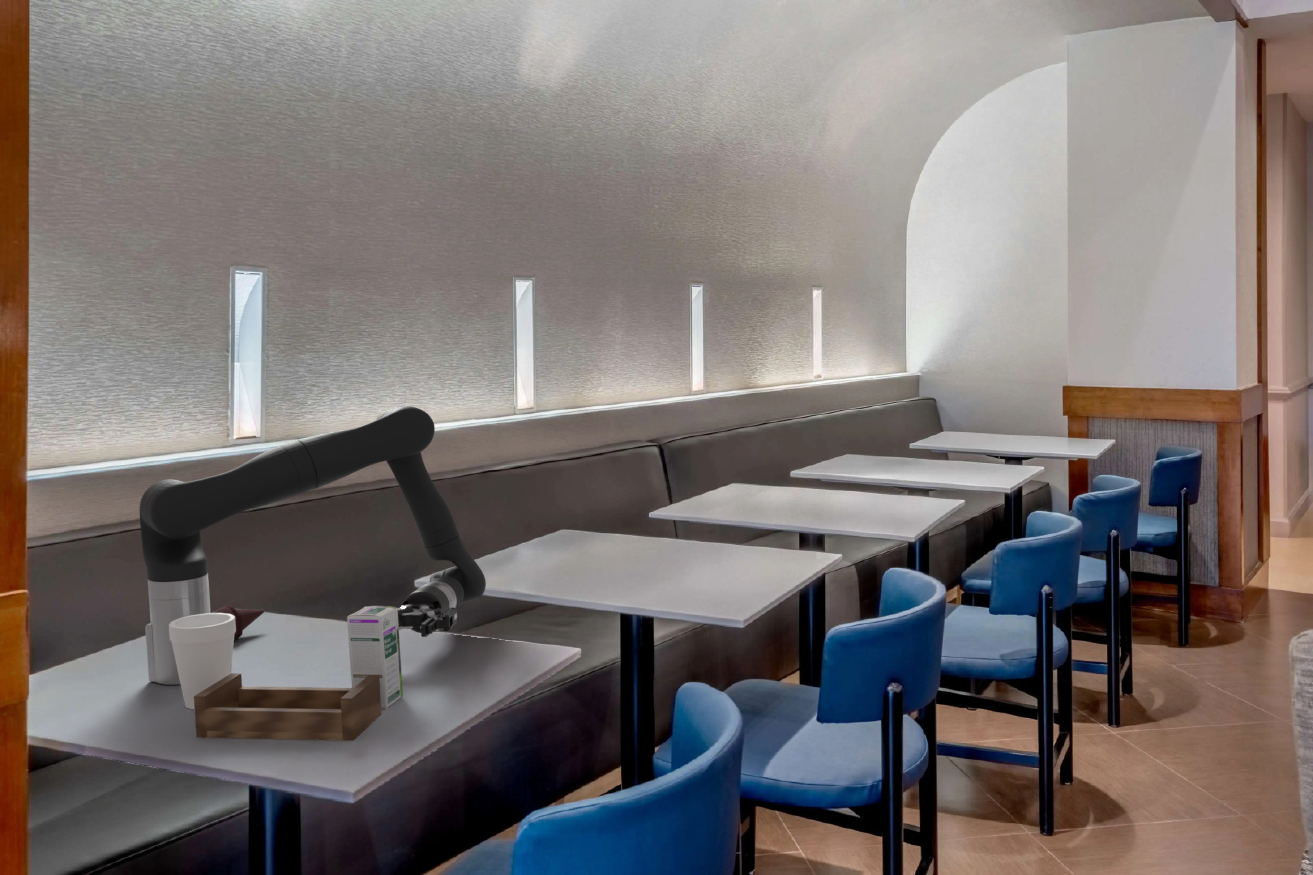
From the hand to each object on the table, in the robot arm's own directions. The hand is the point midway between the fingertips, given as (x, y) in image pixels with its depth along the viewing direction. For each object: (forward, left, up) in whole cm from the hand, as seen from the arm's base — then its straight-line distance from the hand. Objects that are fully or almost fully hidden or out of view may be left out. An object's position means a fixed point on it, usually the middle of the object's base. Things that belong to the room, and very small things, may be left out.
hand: (397, 630), depth 173 cm
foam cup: (-27, -11, -9) cm, 31 cm away
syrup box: (0, -10, -9) cm, 13 cm away
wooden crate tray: (-9, -20, -9) cm, 24 cm away
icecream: (-42, +23, -9) cm, 49 cm away
